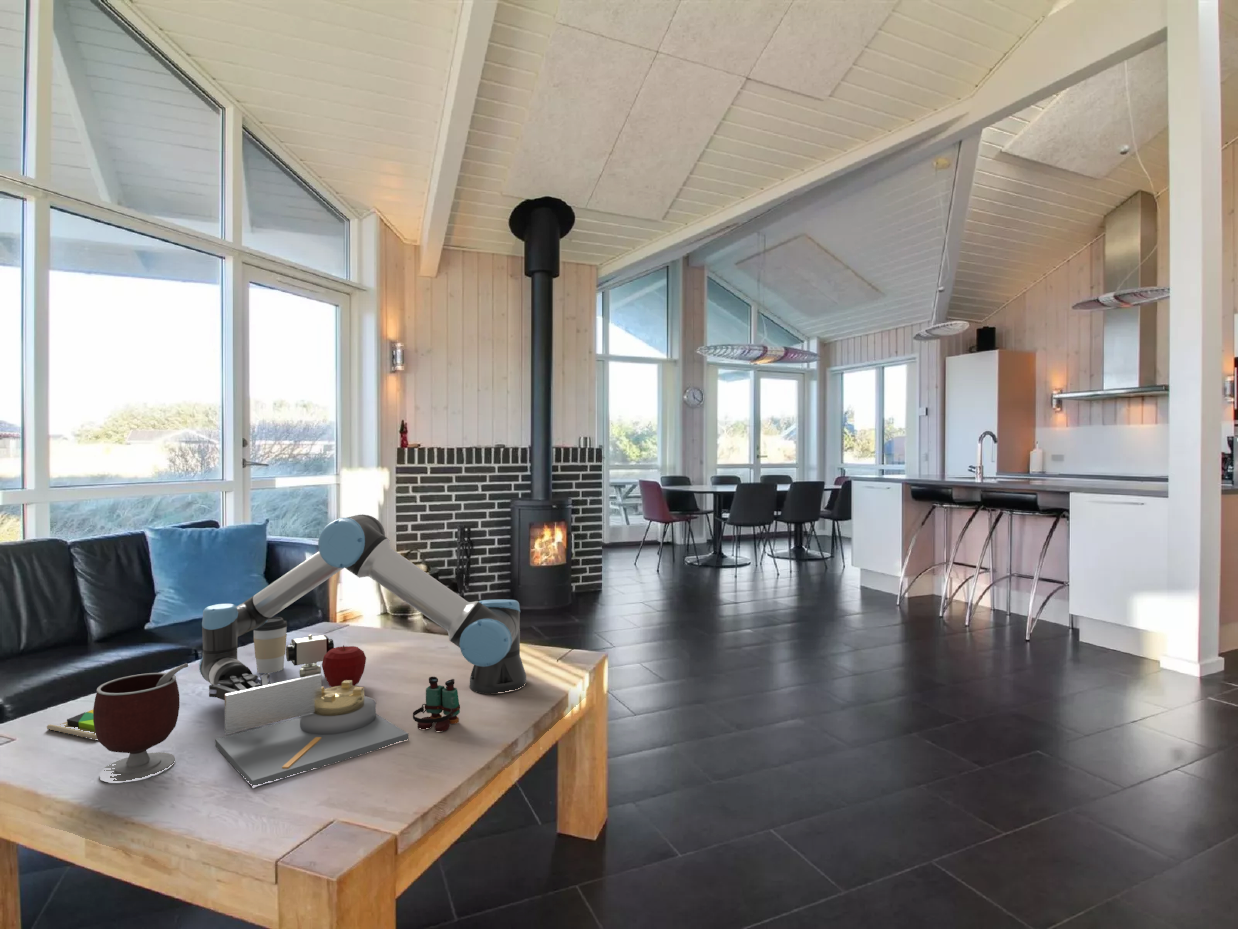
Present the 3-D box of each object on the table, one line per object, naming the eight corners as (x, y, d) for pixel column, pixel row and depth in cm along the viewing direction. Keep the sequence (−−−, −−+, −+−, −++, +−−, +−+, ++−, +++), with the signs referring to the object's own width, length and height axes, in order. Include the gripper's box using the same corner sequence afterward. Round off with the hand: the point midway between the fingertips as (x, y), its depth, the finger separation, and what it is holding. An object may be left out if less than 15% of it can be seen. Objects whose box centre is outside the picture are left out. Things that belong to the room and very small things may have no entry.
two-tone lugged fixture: (352, 694, 163) (352, 660, 163) (372, 706, 155) (372, 670, 155) (218, 727, 143) (218, 688, 143) (233, 743, 135) (233, 701, 135)
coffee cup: (294, 668, 199) (293, 617, 198) (263, 676, 191) (263, 623, 191) (276, 663, 203) (276, 613, 203) (246, 671, 196) (245, 619, 196)
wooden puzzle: (43, 733, 153) (43, 718, 153) (129, 705, 171) (129, 691, 171) (95, 744, 147) (94, 728, 147) (178, 714, 164) (178, 699, 164)
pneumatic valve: (334, 675, 192) (334, 633, 191) (288, 683, 185) (288, 639, 185) (330, 670, 196) (329, 629, 196) (285, 678, 189) (285, 635, 189)
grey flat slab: (358, 708, 166) (358, 690, 166) (408, 740, 148) (408, 719, 148) (215, 746, 145) (215, 725, 145) (252, 788, 126) (252, 764, 126)
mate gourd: (83, 791, 125) (82, 683, 125) (105, 761, 138) (104, 662, 138) (182, 775, 131) (181, 672, 131) (194, 747, 144) (193, 654, 144)
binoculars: (404, 690, 151) (431, 672, 160) (408, 735, 152) (434, 715, 162) (439, 695, 148) (464, 676, 158) (442, 740, 149) (466, 719, 159)
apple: (329, 698, 173) (329, 653, 173) (316, 688, 181) (316, 644, 181) (372, 688, 181) (372, 645, 181) (357, 679, 189) (357, 637, 189)
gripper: (260, 686, 167) (293, 712, 150) (199, 699, 158) (227, 728, 141) (260, 656, 167) (293, 678, 150) (199, 667, 158) (227, 692, 141)
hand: (261, 702), depth 146 cm, fingers closed
